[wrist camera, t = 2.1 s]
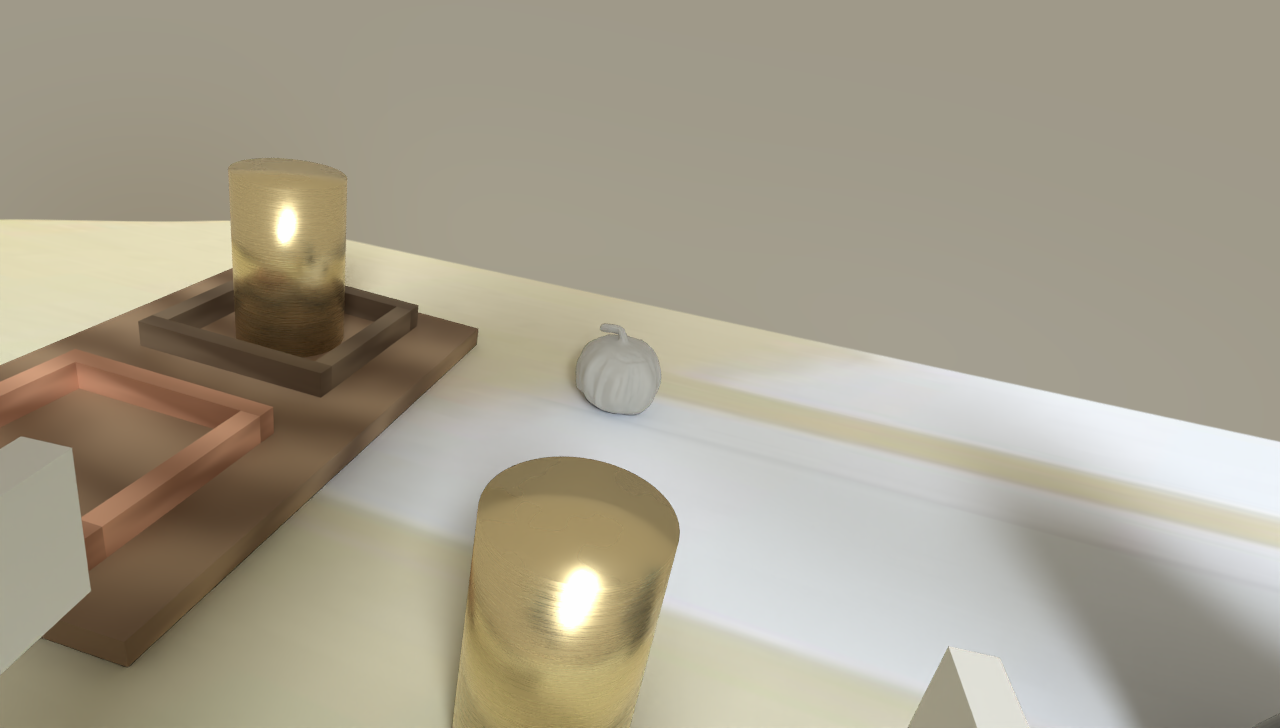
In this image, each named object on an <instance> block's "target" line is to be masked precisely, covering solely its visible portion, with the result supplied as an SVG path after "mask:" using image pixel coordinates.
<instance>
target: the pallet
mask: <svg viewBox="0 0 1280 728" xmlns="http://www.w3.org/2000/svg"><path fill="white" fill-rule="evenodd" d="M477 336H478V329H477V328H474V327H470V326H466V325H463V324H459V323H455V322H451V321H448V320H444V319H440V318H437V317H433V316H429V315H426V314H422V313H418V305H415V304H411V303H407V302H404V301H400V300H396V299H393V298H389V297H385V296H381V295H378V294H374V293H370V292H367V291H363V290H359V289H356V288H352V287H348V286H345V298H344V337H343V341H342V342H341V344H340V345H339V346H337V347H336V348H334V349H333V350H331V351H328V352H326V353H323V354H319V355H315V356H309V357H298V356H295V355H291V354H288V353H284V352H281V351H277V350H274V349H270V348H267V347H263V346H260V345H256V344H252V343H249V342H245V341H242V340H238V339H236V329H235V307H234V285H233V268H232V269H229V270H227V271H224V272H222V273H220V274H217V275H215V276H212V277H210V278H208V279H205V280H203V281H201V282H198V283H196V284H193V285H191V286H189V287H186V288H184V289H181V290H179V291H177V292H174V293H172V294H170V295H167V296H165V297H162V298H160V299H158V300H155V301H153V302H150V303H148V304H146V305H143V306H141V307H138V308H136V309H134V310H131V311H129V312H127V313H124V314H122V315H119V316H117V317H115V318H112V319H110V320H107V321H105V322H103V323H100V324H98V325H96V326H93V327H91V328H88V329H86V330H84V331H81V332H79V333H76V334H74V335H72V336H69V337H67V338H64V339H62V340H60V341H57V342H55V343H53V344H50V345H48V346H45V347H43V348H41V349H38V350H36V351H33V352H31V353H29V354H26V355H24V356H22V357H19V358H17V359H14V360H12V361H10V362H7V363H5V364H2V365H0V449H1V448H3V447H4V446H6V445H7V444H9V443H11V442H12V441H14V440H16V439H17V438H19V437H21V436H22V437H26V438H31V439H35V440H40V441H44V442H48V443H53V444H57V445H62V446H66V447H70V448H72V453H73V460H74V468H75V475H76V483H77V490H78V498H79V505H80V513H81V520H82V528H83V535H84V543H85V550H86V558H87V565H88V573H89V580H90V588H91V591H90V592H89V593H88V594H87V595H86V596H85V597H84V598H83V599H82V600H81V601H80V602H79V603H77V604H76V605H75V606H74V607H73V608H72V609H71V610H70V611H69V612H68V613H67V614H66V615H64V616H63V617H62V618H61V619H60V620H59V621H58V622H57V623H56V624H55V625H54V626H53V627H52V628H50V629H49V630H48V631H47V632H46V633H45V634H44V635H43V636H42V637H41V638H44V639H47V640H50V641H53V642H56V643H59V644H62V645H64V646H67V647H70V648H73V649H76V650H79V651H82V652H85V653H88V654H91V655H93V656H96V657H99V658H102V659H105V660H108V661H111V662H114V663H117V664H120V665H122V666H125V667H129V666H130V665H131V664H132V663H133V662H134V661H135V660H136V659H137V658H138V657H139V656H141V655H142V654H143V653H144V652H145V651H146V650H147V649H148V648H149V647H150V646H151V645H152V644H153V643H155V642H156V641H157V640H158V639H159V638H160V637H161V636H162V635H163V634H164V633H165V632H166V631H168V630H169V629H170V628H171V627H172V626H173V625H174V624H175V623H176V622H177V621H178V620H179V619H180V618H182V617H183V616H184V615H185V614H186V613H187V612H188V611H189V610H190V609H191V608H192V607H193V606H195V605H196V604H197V603H198V602H199V601H200V600H201V599H202V598H203V597H204V596H205V595H206V594H208V593H209V592H210V591H211V590H212V589H213V588H214V587H215V586H216V585H217V584H218V583H219V582H220V581H222V580H223V579H224V578H225V577H226V576H227V575H228V574H229V573H230V572H231V571H232V570H233V569H235V568H236V567H237V566H238V565H239V564H240V563H241V562H242V561H243V560H244V559H245V558H246V557H247V556H249V555H250V554H251V553H252V552H253V551H254V550H255V549H256V548H257V547H258V546H259V545H260V544H262V543H263V542H264V541H265V540H266V539H267V538H268V537H269V536H270V535H271V534H272V533H273V532H275V531H276V530H277V529H278V528H279V527H280V526H281V525H282V524H283V523H284V522H285V521H286V520H287V519H289V518H290V517H291V516H292V515H293V514H294V513H295V512H296V511H297V510H298V509H299V508H300V507H302V506H303V505H304V504H305V503H306V502H307V501H308V500H309V499H310V498H311V497H312V496H313V495H314V494H316V493H317V492H318V491H319V490H320V489H321V488H322V487H323V486H324V485H325V484H326V483H327V482H329V481H330V480H331V479H332V478H333V477H334V476H335V475H336V474H337V473H338V472H339V471H340V470H341V469H343V468H344V467H345V466H346V465H347V464H348V463H349V462H350V461H351V460H352V459H353V458H354V457H356V456H357V455H358V454H359V453H360V452H361V451H362V450H363V449H364V448H365V447H366V446H367V445H369V444H370V443H371V442H372V441H373V440H374V439H375V438H376V437H377V436H378V435H379V434H380V433H381V432H383V431H384V430H385V429H386V428H387V427H388V426H389V425H390V424H391V423H392V422H393V421H394V420H396V419H397V418H398V417H399V416H400V415H401V414H402V413H403V412H404V411H405V410H406V409H407V408H408V407H410V406H411V405H412V404H413V403H414V402H415V401H416V400H417V399H418V398H419V397H420V396H421V395H423V394H424V393H425V392H426V391H427V390H428V389H429V388H430V387H431V386H432V385H433V384H434V383H436V382H437V381H438V380H439V379H440V378H441V377H442V376H443V375H444V374H445V373H446V372H447V371H448V370H450V369H451V368H452V367H453V366H454V365H455V364H456V363H457V362H458V361H459V360H460V359H461V358H463V357H464V356H465V355H466V354H467V353H468V352H469V351H470V350H471V349H472V348H473V347H474V346H475V345H477Z"/></svg>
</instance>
